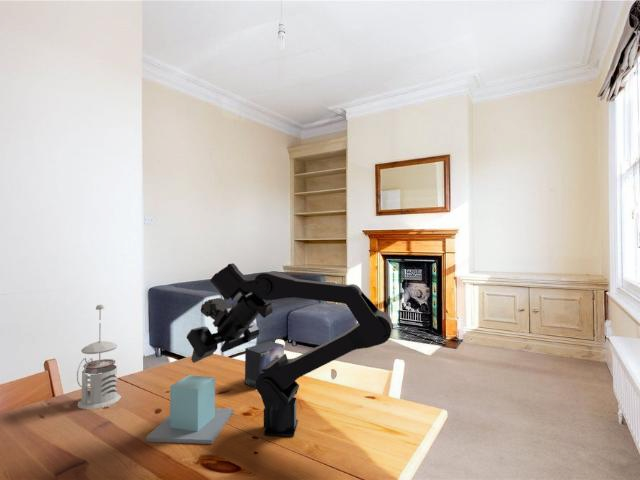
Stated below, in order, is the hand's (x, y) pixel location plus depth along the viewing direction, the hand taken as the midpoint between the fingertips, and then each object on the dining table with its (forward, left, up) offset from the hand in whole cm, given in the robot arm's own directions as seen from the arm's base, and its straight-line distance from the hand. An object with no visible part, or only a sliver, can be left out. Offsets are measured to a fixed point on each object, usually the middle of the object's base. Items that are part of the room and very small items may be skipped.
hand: (207, 355), depth 88 cm
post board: (+1, +7, -14) cm, 15 cm away
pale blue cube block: (+1, +7, -13) cm, 14 cm away
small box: (-9, -20, -14) cm, 26 cm away
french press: (+31, -3, -14) cm, 34 cm away
